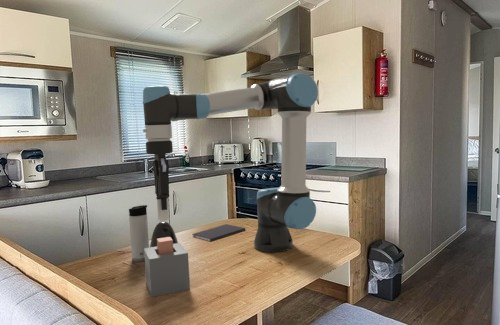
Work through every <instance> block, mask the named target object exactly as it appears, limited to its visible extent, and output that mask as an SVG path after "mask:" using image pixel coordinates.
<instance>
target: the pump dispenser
mask: <svg viewBox="0 0 500 325" xmlns="http://www.w3.org/2000/svg"><path fill="white" fill-rule="evenodd" d="M165 237H171V239H172V240H173V244H176V243H179V242H178V238H177V236H176V233H175V230H174V228H173V226H172V225H171V223H169V222H168V221H159V222H158V223H157V224H156V226H155V227H154V229H153V231H152V236H151V240H150V243H149V248H150V247H157V239H158V238H165Z"/></svg>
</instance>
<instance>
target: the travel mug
mask: <svg viewBox="0 0 500 325" xmlns="http://www.w3.org/2000/svg"><path fill="white" fill-rule="evenodd" d="M147 208H148V205H147V204H144V205H138V206H137V205H136V206H133V207H131V208H129V209H128V213H129V214H128V216H129V218H128V219H129V220H128V221H129V232H130V234H129V235H130V248H131V249H130V250H131V260H132V261H133V262H138V263H139V262H145V255H144V248H150V241H149V240H150V239H149V228H148V212H147V210H148V209H147Z"/></svg>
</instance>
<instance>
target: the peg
mask: <svg viewBox="0 0 500 325" xmlns="http://www.w3.org/2000/svg"><path fill="white" fill-rule="evenodd" d="M157 251H158V255H160V254H166V253H172V252H173V240H172V239H171V237H165V238H158V239H157Z"/></svg>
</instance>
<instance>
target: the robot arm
mask: <svg viewBox="0 0 500 325" xmlns="http://www.w3.org/2000/svg"><path fill="white" fill-rule="evenodd" d="M318 89H319V88H318V85H317V83H316V81H315V80H314V79H313V78H312V76H310V74H307V73H305V72H298V73H297V72H295V73H291V74H289V75H288V74H287V75H285V76H280V77H275V78H273V79H271V80H267V81H264V82H261V83H254V84H253V85H251V86H250V87H244V88H239V89H238V88H236V89H231V90H224V91H216V92H209V93H208V92H207V93H172V92H171V91H170V88H169V86H166V85H148V86H145V87H144V88H143V90H142V104H143V116H144V129H142V132H143V133H145V134H144V135H145V136H144V137H145V139H146V140H147V141H146V142H145V152H146V154H147V155H153V156H154V157H153V158H154V160H153V159H152V168H153V179H154V190H155V191H154V193H155V195H156V204H157V220H158V221H159V222H167V221H169V220H170V214H169V213H170V212H169V197H170V182H169V181H170V179H169V176H170V175H169V174H170V173H169V172H170V171H169V170H170V165H169V159H167V157H166V154H172V153H173V152H174V149H173V141H172V140H171V139H172V138H173V129H172V128H173V127H172V122H178V121H184V120H185V121H187V120H201V119H207V117H209V116H213V115H221V114H225V113H233V112H238V111H239V112H240V111H245V110H251V109H254V110H256V111H261V110H277V114H278V115H279V116H280V117H281V181H280V182H281V185H280V186H279V187H270V188H262V189H258V191H256V192H257V193H256V208H257V212H256V213H257V229H256V233H255V236H254V241H253V244H254V245H253V247H254V249H255V250H258V251H261V252H266V253H279V252H285V251H288V250H290V249H292V248H293V247H294V244H293V242H294V240H293V237H292V234H291V233H290V229H292V230H293V229H294V230H303V229H306V228H307V227H309V226H310V225H311V224H312V222H314V219H315V217H316V214H317V206H316V203H315V202H314V200H313V199H312V198H311V196H310V195H311V190H310V189H309V187H307V185H306V184H307V183H306V182H307V181H306V180H307V179H306V178H307V177H306V176H307V175H306V173H307V118H308V117H309V115H311V113H312V106H313V105H314V104H315V102H316V101H317V100H318V96H319V90H318Z"/></svg>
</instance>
